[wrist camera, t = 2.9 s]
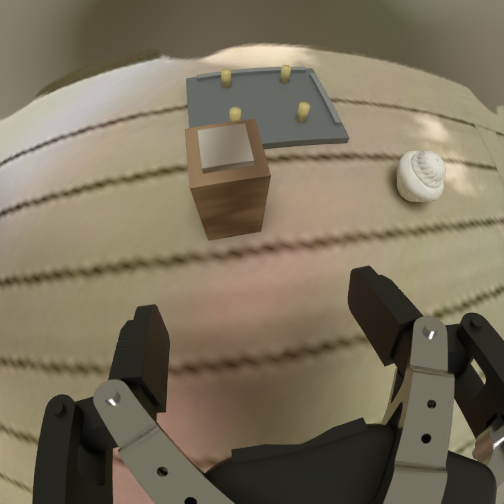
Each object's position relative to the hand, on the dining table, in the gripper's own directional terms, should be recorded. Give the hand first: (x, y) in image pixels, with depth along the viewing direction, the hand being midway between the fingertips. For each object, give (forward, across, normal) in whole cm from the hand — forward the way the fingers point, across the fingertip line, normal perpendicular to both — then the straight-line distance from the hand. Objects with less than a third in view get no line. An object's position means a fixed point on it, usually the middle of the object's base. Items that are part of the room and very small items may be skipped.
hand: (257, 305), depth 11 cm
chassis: (+27, -6, -8) cm, 28 cm away
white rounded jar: (+17, -21, +2) cm, 27 cm away
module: (+17, 0, +2) cm, 17 cm away
